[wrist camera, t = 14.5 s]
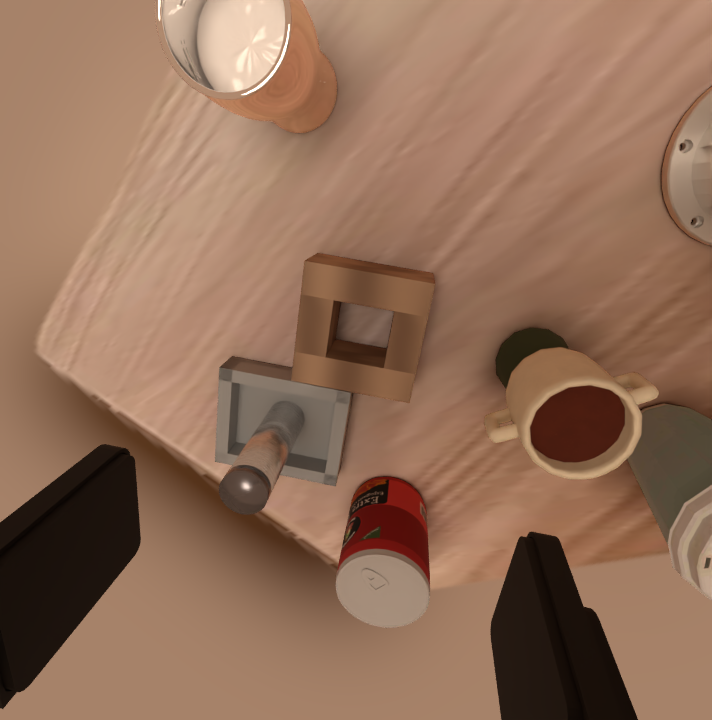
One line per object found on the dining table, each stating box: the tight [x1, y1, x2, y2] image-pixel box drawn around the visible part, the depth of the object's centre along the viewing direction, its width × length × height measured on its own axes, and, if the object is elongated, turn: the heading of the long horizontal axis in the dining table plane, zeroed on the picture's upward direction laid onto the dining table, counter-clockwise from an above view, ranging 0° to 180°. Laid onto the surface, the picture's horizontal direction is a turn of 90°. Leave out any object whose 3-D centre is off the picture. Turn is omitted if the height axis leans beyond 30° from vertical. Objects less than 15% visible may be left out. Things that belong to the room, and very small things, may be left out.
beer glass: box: [155, 0, 337, 133], centre depth 28 cm, size 7×7×15 cm
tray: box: [215, 356, 353, 486], centre depth 43 cm, size 12×10×3 cm
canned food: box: [336, 477, 430, 628], centre depth 42 cm, size 8×8×11 cm
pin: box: [219, 401, 305, 514], centre depth 38 cm, size 4×4×12 cm
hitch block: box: [291, 253, 435, 403], centre depth 38 cm, size 10×10×5 cm
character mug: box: [484, 328, 659, 480], centre depth 34 cm, size 11×7×13 cm, turn 112°
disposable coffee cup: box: [627, 403, 712, 600], centre depth 34 cm, size 11×11×15 cm
